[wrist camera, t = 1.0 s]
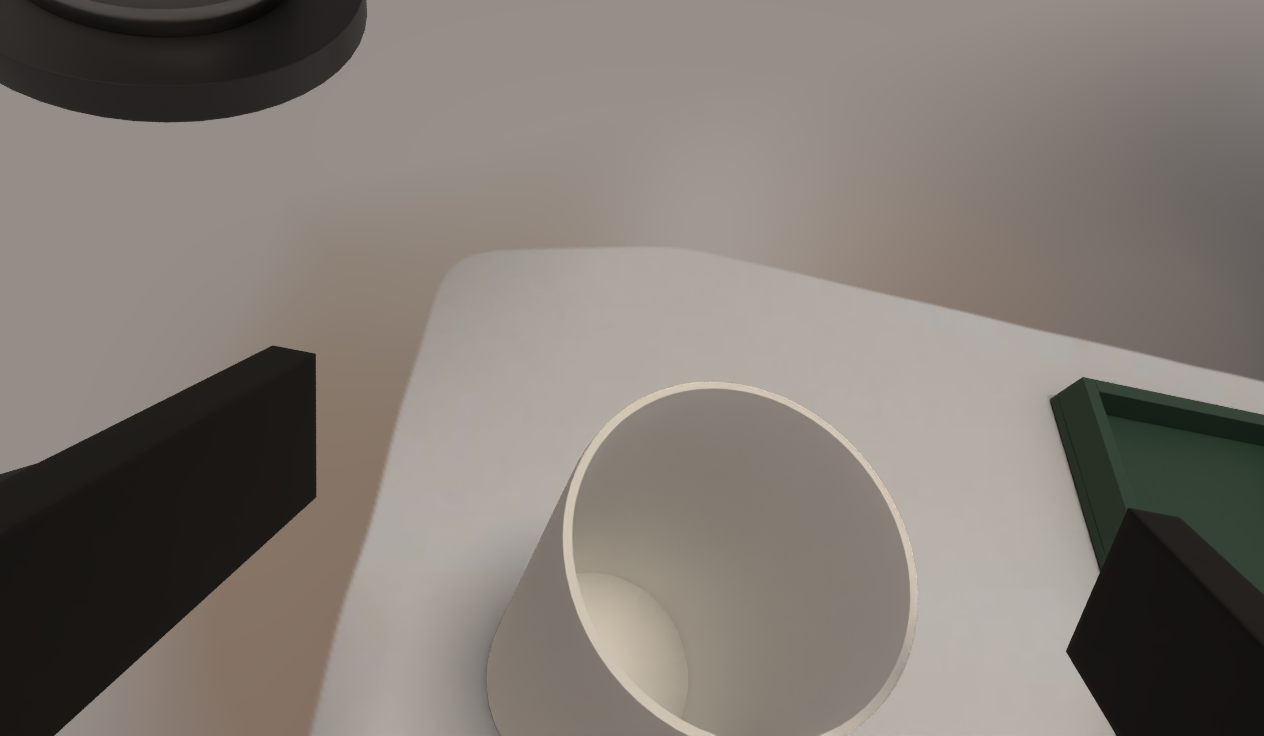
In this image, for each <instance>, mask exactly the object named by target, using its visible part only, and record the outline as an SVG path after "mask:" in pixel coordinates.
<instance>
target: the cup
mask: <svg viewBox="0 0 1264 736" xmlns="http://www.w3.org/2000/svg"><path fill="white" fill-rule="evenodd" d="M917 613H918V584H917V576H916V568H915V563H914V558H913V553H912V549H911V545H910V542H909V538H908V535H907V532H906V530H905V527H904V524H903V521H902V519H901V517H900V514H899V512H898V510H897V508H896V506H895V504H894V502H893V500H892V498H891V496H890V495H889V493H888V491H887V489H886V487H885V486H884V484H883V483H882V481H881V480H880V478H879V477H878V475H877V474H876V472H875V471H874V470H873V468H872V467H871V466H870V465H869V463H868V462H867V461H866V459H865V458H864V457H863V456H862V455H861V454H860V453H859V452H858V450H857V449H856V448H855V447H854V446H853V445H852V444H851V443H850V442H849V441H848V440H847V439H846V438H845V437H844V436H843V435H841V434H840V433H839V432H838V431H837V430H835V429H834V428H833V427H832V426H831V425H829V424H828V423H827V422H825V421H824V420H822V419H821V418H820V417H818V416H817V415H815V414H814V413H812V412H810V411H809V410H807V409H806V408H804V407H802V406H800V405H798V404H796V403H794V402H793V401H791V400H789V399H786V398H784V397H782V396H779V395H777V394H774V393H772V392H768V391H765V390H762V389H759V388H755V387H751V386H747V385H742V384H735V383H729V382H694V383H687V384H681V385H676V386H672V387H668V388H665V389H662V390H659V391H656V392H654V393H651V394H649V395H647V396H645V397H643V398H641V399H639V400H637V401H636V402H634V403H632V404H631V405H629V406H627V407H626V408H625V409H623V410H622V411H621V412H619V413H618V414H617V415H616V416H614V417H613V418H612V419H611V420H610V421H609V422H608V423H607V424H606V425H605V426H604V427H603V428H602V429H601V431H600V432H599V433H598V434H597V435H596V437H595V438H594V439H593V440H592V441H591V443H590V444H589V445H588V447H587V448H586V450H585V451H584V453H583V454H582V456H581V457H580V459H579V461H578V463H577V465H576V467H575V469H574V470H573V472H572V474H571V477H570V479H569V481H568V483H567V485H566V487H565V489H564V491H563V493H562V495H561V497H560V499H559V501H558V503H557V505H556V507H555V509H554V512H553V514H552V516H551V518H550V520H549V522H548V524H547V526H546V528H545V530H544V533H543V535H542V537H541V539H540V541H539V543H538V545H537V547H536V549H535V551H534V553H533V556H532V558H531V560H530V562H529V564H528V566H527V568H526V570H525V572H524V574H523V577H522V579H521V581H520V583H519V585H518V587H517V589H516V591H515V593H514V595H513V597H512V600H511V602H510V604H509V606H508V608H507V610H506V612H505V614H504V616H503V618H502V621H501V623H500V625H499V627H498V629H497V631H496V634H495V636H494V639H493V642H492V645H491V649H490V653H489V658H488V664H487V695H488V701H489V706H490V710H491V714H492V717H493V720H494V723H495V725H496V728H497V730H498V732H499V734H500V736H846V735H847V734H849V733H850V732H852V731H853V730H855V729H856V728H858V727H859V726H861V725H862V724H863V723H864V722H865V721H866V720H867V719H868V718H870V717H871V716H872V715H873V714H874V713H875V712H876V711H877V710H878V708H879V707H880V706H881V705H882V704H883V703H884V702H885V700H886V699H887V698H888V696H889V695H890V693H891V692H892V690H893V689H894V687H895V686H896V684H897V682H898V680H899V678H900V676H901V674H902V672H903V670H904V668H905V665H906V663H907V660H908V658H909V655H910V651H911V648H912V644H913V640H914V636H915V630H916V624H917Z"/></svg>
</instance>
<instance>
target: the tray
mask: <svg viewBox="0 0 1264 736" xmlns="http://www.w3.org/2000/svg"><path fill="white" fill-rule="evenodd" d="M1050 400H1051V404H1052V407H1053V410H1054V414H1055V417H1056V421H1057V424H1058V427H1059V431H1060V434H1061V438H1062V441H1063V444H1064V448H1065V451H1066V454H1067V458H1068V461H1069V465H1070V468H1071V471H1072V475H1073V478H1074V482H1075V485H1076V488H1077V492H1078V495H1079V498H1080V502H1081V505H1082V509H1083V512H1084V515H1085V519H1086V522H1087V526H1088V529H1089V532H1090V536H1091V539H1092V542H1093V546H1094V549H1095V553H1096V556H1097V559H1098V563H1099V566H1100V570H1101V569H1102V567H1103V564H1104V562H1105V560H1106V558H1107V555H1108V553H1109V551H1110V548H1111V546H1112V544H1113V541H1114V539H1115V537H1116V534H1117V532H1118V530H1119V527H1120V525H1121V523H1122V521H1123V518H1124V516H1125V514H1126V511H1127V509H1128V508H1133V509H1138V510H1143V511H1148V512H1154V513H1159V514H1164V515H1170V516H1175V517H1180V518H1181V519H1182V520H1183V521H1185V522H1186V523H1187V524H1188V525H1189V526H1190V527H1191V528H1192V529H1193V530H1194V531H1195V532H1196V533H1198V534H1199V535H1200V536H1201V537H1202V538H1203V539H1204V540H1205V541H1206V542H1207V543H1208V544H1209V545H1211V546H1212V547H1213V548H1214V549H1215V550H1216V551H1217V552H1218V553H1219V554H1220V555H1221V556H1222V557H1223V558H1225V559H1226V560H1227V561H1228V562H1229V563H1230V564H1231V565H1232V566H1233V567H1234V568H1235V569H1236V570H1238V571H1239V572H1240V573H1241V574H1242V575H1243V576H1244V577H1245V578H1246V579H1247V580H1248V581H1249V582H1251V583H1252V584H1253V585H1254V586H1255V587H1256V588H1257V589H1258V590H1259V591H1260V592H1261V593H1262V594H1264V415H1262V414H1257V413H1252V412H1247V411H1243V410H1238V409H1233V408H1228V407H1223V406H1219V405H1214V404H1209V403H1204V402H1199V401H1195V400H1190V399H1185V398H1180V397H1175V396H1171V395H1166V394H1161V393H1156V392H1152V391H1147V390H1142V389H1137V388H1132V387H1128V386H1123V385H1118V384H1113V383H1108V382H1104V381H1099V380H1094V379H1089V378H1085V377H1082V378H1081V379H1079V380H1078V381H1076V382H1075V383H1073V384H1072V385H1070V386H1069V387H1067V388H1066V389H1064V390H1063V391H1061V392H1060V393H1058V395H1055V396H1054V397H1052V398H1051V399H1050Z"/></svg>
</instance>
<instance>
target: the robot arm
mask: <svg viewBox="0 0 1264 736" xmlns="http://www.w3.org/2000/svg"><path fill="white" fill-rule="evenodd" d="M31 1H32V2H34V3H35V4H37V5H39V6H40V7H42V8H44V9H46V10H48V11H50V12H52V13H54V14H56V15H58V16H61V17H63V18H65V19H68V20H71V21H74V22H77V23H79V24H83V25H86V26H90V27H93V28H97V29H102V30H106V31H111V32H116V33H123V34H129V35H139V36H152V37H180V36H194V35H202V34H209V33H214V32H220V31H224V30H228V29H232V28H235V27H238V26H241V25H244V24H247V23H249V22H251V21H254V20H256V19H258V18H260V17H262V16H264V15H266V14H267V13H269V12H270V11H272V10H273V9H275V8H276V7H277V6H278V5H280V4H281V3H282V2H283V1H284V0H31ZM315 498H316V354H314V353H308V352H303V351H298V350H293V349H288V348H283V347H277V346H271V347H269V348H267V349H265V350H263V351H261V352H259V353H257V354H255V355H253V356H251V357H249V358H247V359H245V360H243V361H241V362H239V363H237V364H235V365H233V366H231V367H229V368H227V369H225V370H223V371H221V372H219V373H217V374H215V375H213V376H211V377H209V378H207V379H205V380H203V381H201V382H199V383H197V384H195V385H193V386H191V387H189V388H187V389H185V390H183V391H181V392H179V393H177V394H175V395H173V396H172V397H169V398H167V399H165V400H163V401H161V402H159V403H157V404H155V405H153V406H151V407H149V408H147V409H145V410H143V411H141V412H139V413H137V414H135V415H133V416H131V417H129V418H127V419H125V420H123V421H121V422H119V423H117V424H115V425H113V426H111V427H109V428H107V429H106V430H104V431H101V432H99V433H98V434H96V435H93V436H91V437H89V438H87V439H85V440H83V441H81V442H79V443H77V444H75V445H73V446H71V447H69V448H67V449H65V450H63V451H61V452H59V453H57V454H55V455H54V456H51V457H49V458H47V459H45V460H43V461H41V462H40V463H37V464H34V465H30V466H27V467H23V468H20V469H17V470H13V471H10V472H7V473H3V474H0V736H54V735H55V734H56V733H58V732H59V731H60V730H61V729H62V728H63V727H64V726H65V725H66V724H67V723H68V722H70V721H71V720H72V719H73V718H74V717H75V716H76V715H77V714H78V713H80V712H81V711H82V710H83V709H84V708H85V707H86V706H87V705H88V704H89V703H91V702H92V701H93V700H94V699H95V698H96V697H97V696H98V695H99V694H100V693H101V692H103V691H104V690H105V689H106V688H107V687H108V686H109V685H110V684H111V683H112V682H114V681H115V680H116V679H117V678H118V677H119V676H120V675H121V674H122V673H123V672H125V671H126V670H127V669H128V668H129V667H130V666H131V665H132V664H133V663H134V662H136V661H137V660H138V659H139V658H140V657H141V656H142V655H143V654H144V653H145V652H146V651H148V650H149V649H150V648H151V647H152V646H153V645H154V644H155V643H156V642H158V641H159V640H160V639H161V638H162V637H163V636H164V635H165V634H166V633H167V632H168V631H170V630H171V629H172V628H173V627H174V626H175V625H176V624H177V623H178V622H180V621H181V620H182V619H183V618H184V617H185V616H186V615H187V614H188V613H189V612H190V611H192V610H193V609H194V608H195V607H196V606H197V605H198V604H199V603H200V602H201V601H203V600H204V599H205V598H206V597H207V596H208V595H209V594H210V593H211V592H212V591H214V590H215V589H216V588H217V587H218V586H219V585H220V584H221V583H222V582H223V581H225V580H226V579H227V578H228V577H229V576H230V575H231V574H232V573H233V572H234V571H235V570H237V569H238V568H239V567H240V566H241V565H242V564H243V563H244V562H245V561H247V560H248V559H249V558H250V557H251V556H252V555H253V554H254V553H255V552H256V551H258V550H259V549H260V548H261V547H262V546H263V545H264V544H265V543H266V542H267V541H268V540H269V539H271V538H272V537H273V536H274V535H275V534H276V533H277V532H278V531H279V530H280V529H282V527H284V526H285V525H286V524H287V523H288V522H289V521H290V520H292V519H293V517H295V516H296V515H297V514H298V513H299V512H300V511H301V510H303V509H304V508H305V507H306V506H307V505H308V504H309V503H310V502H311V501H312V500H314V499H315ZM1066 652H1067V654H1068V656H1069V657H1070V659H1071V661H1072V662H1073V664H1074V666H1075V667H1076V669H1077V671H1078V672H1079V674H1080V676H1081V677H1082V679H1083V681H1084V682H1085V684H1086V686H1087V687H1088V689H1089V691H1090V692H1091V694H1092V696H1093V697H1094V699H1095V701H1096V702H1097V704H1098V705H1099V707H1100V709H1101V710H1102V712H1103V714H1104V715H1105V717H1106V719H1107V720H1108V722H1109V724H1110V725H1111V727H1112V729H1113V730H1114V732H1115V734H1116V735H1117V736H1264V594H1262V593H1261V592H1260V591H1259V590H1258V589H1257V588H1256V587H1255V586H1254V585H1253V584H1252V583H1251V582H1249V581H1248V580H1247V579H1246V578H1245V577H1244V576H1243V575H1242V574H1241V573H1240V572H1239V571H1238V570H1236V569H1235V568H1234V567H1233V566H1232V565H1231V564H1230V563H1229V562H1228V561H1227V560H1226V559H1225V558H1223V557H1222V556H1221V555H1220V554H1219V553H1218V552H1217V551H1216V550H1215V549H1214V548H1213V547H1212V546H1211V545H1209V544H1208V543H1207V542H1206V541H1205V540H1204V539H1203V538H1202V537H1201V536H1200V535H1199V534H1198V533H1196V532H1195V531H1194V530H1193V529H1192V528H1191V527H1190V526H1189V525H1188V524H1187V523H1186V522H1185V521H1183V520H1182V519H1181V518H1180V517H1175V516H1170V515H1164V514H1159V513H1154V512H1148V511H1143V510H1138V509H1133V508H1128V509H1127V511H1126V514H1125V516H1124V518H1123V521H1122V523H1121V525H1120V527H1119V530H1118V532H1117V534H1116V537H1115V539H1114V541H1113V544H1112V546H1111V548H1110V551H1109V553H1108V555H1107V558H1106V560H1105V562H1104V564H1103V567H1102V569H1101V571H1100V574H1099V576H1098V578H1097V581H1096V583H1095V585H1094V588H1093V590H1092V592H1091V595H1090V597H1089V599H1088V601H1087V604H1086V606H1085V608H1084V611H1083V613H1082V615H1081V618H1080V620H1079V622H1078V625H1077V627H1076V629H1075V632H1074V634H1073V636H1072V638H1071V641H1070V643H1069V645H1068V648H1067V650H1066Z"/></svg>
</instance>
